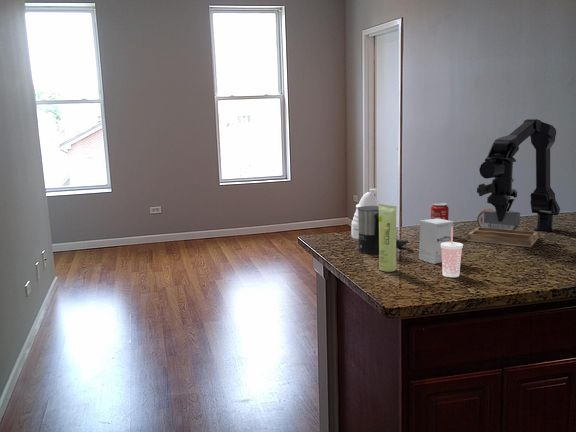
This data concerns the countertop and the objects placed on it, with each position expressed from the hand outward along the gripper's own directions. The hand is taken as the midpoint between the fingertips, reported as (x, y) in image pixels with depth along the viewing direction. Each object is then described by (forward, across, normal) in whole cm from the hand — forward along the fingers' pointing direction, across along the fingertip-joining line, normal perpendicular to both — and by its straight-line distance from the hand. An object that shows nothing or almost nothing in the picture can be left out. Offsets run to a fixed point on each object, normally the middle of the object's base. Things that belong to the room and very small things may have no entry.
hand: (501, 220), depth 204 cm
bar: (+1, 0, 0) cm, 1 cm away
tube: (+8, +52, -21) cm, 56 cm away
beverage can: (+8, 0, -22) cm, 23 cm away
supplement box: (+8, +35, -12) cm, 38 cm away
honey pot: (+8, +12, -45) cm, 47 cm away
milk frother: (+8, +29, -32) cm, 44 cm away
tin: (+8, -17, -5) cm, 19 cm away
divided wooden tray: (+8, -3, 0) cm, 8 cm away
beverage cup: (+8, +49, -3) cm, 50 cm away
